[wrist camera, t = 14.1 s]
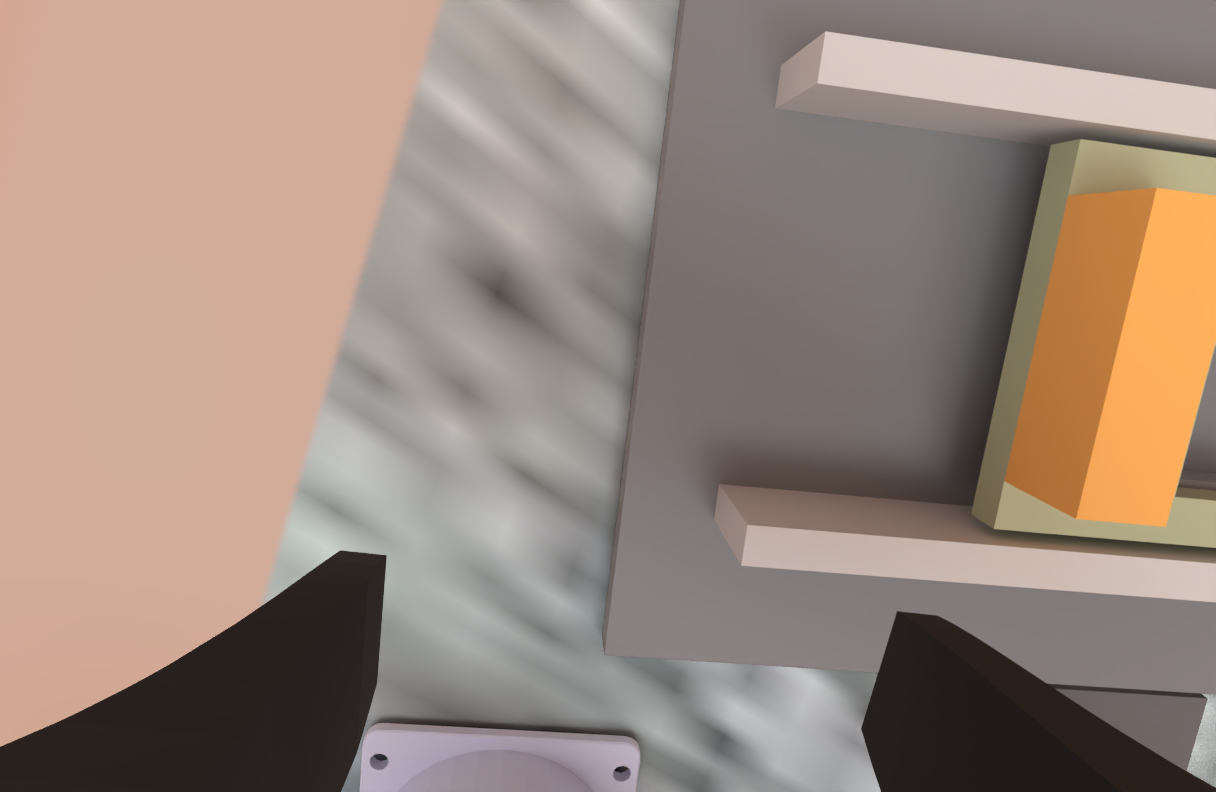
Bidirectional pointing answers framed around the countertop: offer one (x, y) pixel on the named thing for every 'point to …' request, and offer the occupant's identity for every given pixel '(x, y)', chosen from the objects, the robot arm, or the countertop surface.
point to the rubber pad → (1146, 716)
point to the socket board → (884, 337)
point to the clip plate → (1108, 352)
